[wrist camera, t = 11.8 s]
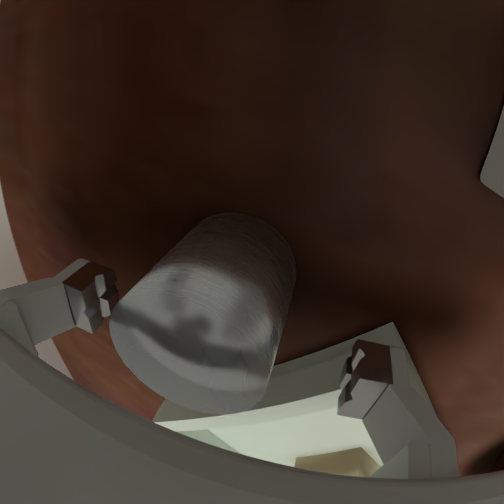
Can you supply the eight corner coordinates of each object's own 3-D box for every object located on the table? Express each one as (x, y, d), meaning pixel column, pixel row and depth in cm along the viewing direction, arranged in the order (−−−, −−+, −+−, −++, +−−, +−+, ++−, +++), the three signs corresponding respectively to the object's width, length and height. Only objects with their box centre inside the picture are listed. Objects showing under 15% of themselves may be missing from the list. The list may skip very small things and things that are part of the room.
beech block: (296, 457, 16) (282, 516, 12) (361, 446, 14) (353, 513, 10) (325, 478, 17) (315, 528, 13) (382, 468, 15) (377, 524, 11)
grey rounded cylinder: (165, 248, 12) (87, 324, 8) (248, 188, 10) (178, 260, 6) (231, 327, 13) (185, 420, 9) (319, 287, 11) (302, 399, 7)
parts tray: (168, 392, 17) (151, 422, 15) (392, 321, 11) (399, 368, 9) (297, 486, 21) (291, 509, 19) (452, 455, 14) (454, 482, 12)
